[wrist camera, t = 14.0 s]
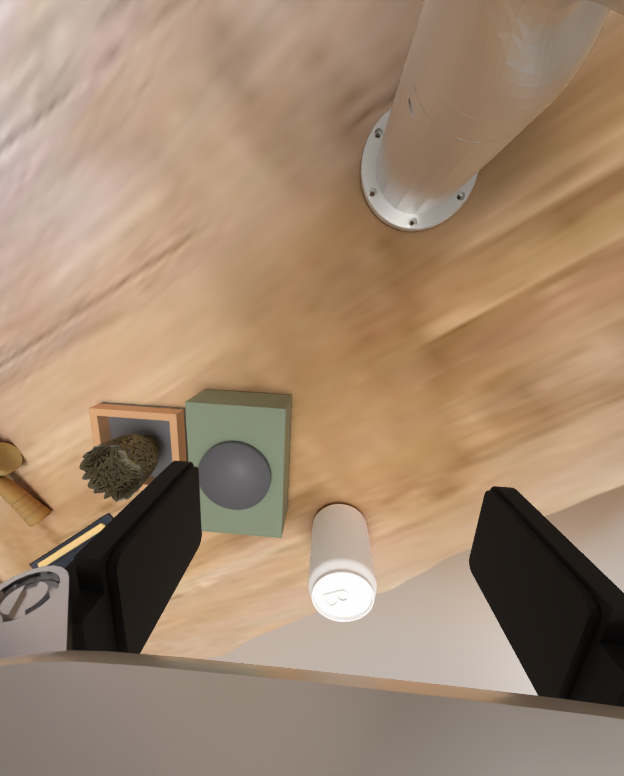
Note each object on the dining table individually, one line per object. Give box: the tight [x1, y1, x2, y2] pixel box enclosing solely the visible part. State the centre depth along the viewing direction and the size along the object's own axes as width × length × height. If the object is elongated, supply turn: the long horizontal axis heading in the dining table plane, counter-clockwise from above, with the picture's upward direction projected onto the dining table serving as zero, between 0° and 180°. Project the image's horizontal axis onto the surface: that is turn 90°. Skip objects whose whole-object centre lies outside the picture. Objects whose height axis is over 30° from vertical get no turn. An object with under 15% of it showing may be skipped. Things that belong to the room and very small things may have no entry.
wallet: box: [29, 513, 113, 569], centre depth 50 cm, size 20×2×15 cm
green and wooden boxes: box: [89, 389, 292, 538], centre depth 40 cm, size 18×27×7 cm, turn 87°
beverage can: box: [308, 504, 377, 622], centre depth 39 cm, size 8×8×12 cm
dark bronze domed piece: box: [79, 434, 159, 502], centre depth 39 cm, size 8×7×8 cm
